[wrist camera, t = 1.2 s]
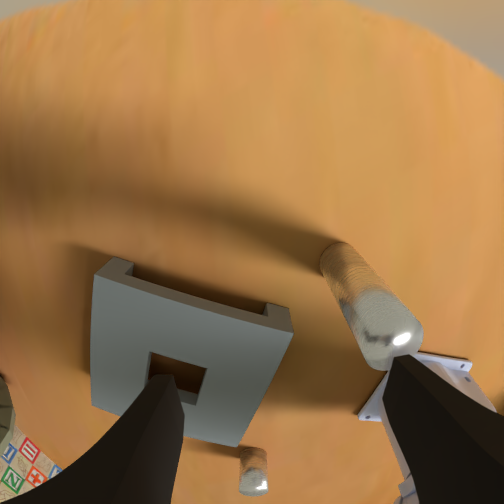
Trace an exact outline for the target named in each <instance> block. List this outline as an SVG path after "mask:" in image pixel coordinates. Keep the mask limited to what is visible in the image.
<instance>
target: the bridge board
mask: <svg viewBox="0 0 504 504" xmlns="http://www.w3.org/2000/svg"><path fill="white" fill-rule="evenodd" d="M133 267H134V263H132V262H129V261H126V260H123V259H120V258H117V257H113V258H112V259H110V260H109V261H108V262H107V263H106V264H105V265H104V266H103V267H102V268H101V269H99V270H98V271H97V272H96V273H95V274H94V282H93V295H92V311H91V337H90V376H91V401H92V406H95V407H97V408H100V409H102V410H105V411H108V412H110V413H113V414H116V415H118V416H122V415H123V413H124V412H125V411H126V410H127V409H128V408H129V406H130V405H131V404H132V403H133V401H134V400H135V399H136V398H137V396H138V395H139V394H140V393H141V391H142V390H143V389H144V387H145V386H146V385H147V384H148V382H149V381H150V380H148V373H149V367H150V361H151V355H152V352H153V353H156V354H160V355H163V356H166V357H169V358H173V359H176V360H179V361H183V362H186V363H190V364H193V365H197V366H200V367H204V368H206V371H205V374H204V377H203V380H202V383H201V386H200V390H199V393H198V394H195V393H191V392H188V391H184V390H181V389H177V391H178V394H179V397H180V401H181V404H182V408H183V411H184V414H185V420H184V433H183V436H186V437H190V438H194V439H199V440H203V441H207V442H212V443H217V444H221V445H226V446H232V447H237V446H238V444H239V442H240V441H241V439H242V437H243V435H244V433H245V431H246V430H247V428H248V426H249V424H250V422H251V420H252V418H253V416H254V414H255V412H256V411H257V409H258V407H259V405H260V403H261V401H262V399H263V397H264V395H265V393H266V391H267V389H268V387H269V385H270V383H271V381H272V379H273V377H274V375H275V373H276V371H277V369H278V366H279V364H280V362H281V360H282V358H283V356H284V354H285V352H286V350H287V348H288V345H289V343H290V341H291V339H292V337H293V335H294V332H293V327H292V322H291V318H290V313H289V308H285V307H281V306H278V305H274V304H270V303H267V304H266V306H265V309H264V312H263V314H262V315H260V314H256V313H252V312H248V311H245V310H241V309H237V308H234V307H230V306H227V305H223V304H220V303H216V302H213V301H209V300H206V299H202V298H199V297H196V296H192V295H189V294H186V293H182V292H179V291H176V290H173V289H169V288H166V287H163V286H160V285H157V284H153V283H150V282H147V281H144V280H141V279H138V278H135V277H132V273H133Z"/></svg>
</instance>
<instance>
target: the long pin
mask: <svg viewBox="0 0 504 504" xmlns="http://www.w3.org/2000/svg"><path fill="white" fill-rule="evenodd" d="M319 265H320V270H321V272H322V274H323V276H324V278H325V280H326V282H327V284H328V286H329V288H330V290H331V291H332V293H333V295H334V297H335V299H336V301H337V303H338V305H339V307H340V309H341V311H342V313H343V315H344V317H345V319H346V321H347V323H348V325H349V327H350V329H351V331H352V333H353V335H354V337H355V339H356V341H357V343H358V345H359V348H360V350H361V352H362V354H363V356H364V358H365V360H366V362H367V364H368V365H369V366H370V367H372V368H373V369H376V370H381V371H387V370H390V369H391V366H392V362H393V358H394V357H397V356H402V355H407V354H410V355H411V356H414V355H415V354H416V353H417V351H418V350H419V348H420V346H421V344H422V341H423V334H424V333H423V328H422V325H421V324H420V322H419V321H418V320H417V319H416V318H415V316H414V315H413V314H412V313H411V312H410V310H409V309H408V308H407V307H406V306H405V305H404V303H403V302H402V301H401V300H400V299H399V298H398V296H397V295H396V294H395V293H394V292H393V291H392V290H391V288H390V287H389V286H388V285H387V284H386V283H385V282H384V280H383V279H382V278H381V277H380V276H379V275H378V274H377V273H376V272H375V270H374V269H373V268H372V267H371V266H370V265H369V264H368V263H367V262H366V261H365V259H364V258H363V257H362V256H361V255H360V254H359V253H358V252H357V251H356V250H355V249H354V248H353V247H352V246H351V245H349V244H346V243H336V244H333V245H331V246H329V247H328V248H327V249H326V250H325V251H324V252H323V254H322V255H321V258H320V264H319Z"/></svg>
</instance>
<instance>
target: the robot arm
mask: <svg viewBox="0 0 504 504" xmlns="http://www.w3.org/2000/svg"><path fill="white" fill-rule="evenodd" d="M471 367H472V362H471V361H470V360H463V359H457V358H451V357H444V356H438V355H433V354H427V353H421V352H417V353H416V354H415V355H414V356H411V355H410V354H407V355H402V356H397V357H394V358H393V362H392V366H391V369H390V370H389V371H388V372H387V374H386V375H385V377H384V378H383V380H382V381H381V383H380V384H379V386H378V387H377V388H376V390H375V391H374V393H373V394H372V396H371V397H370V398H369V400H368V401H367V403H366V404H365V405H364V407H363V408H362V409H361V411H360V412H359V413H358V419H359V420H368V421H382V422H383V425H384V427H385V430H386V432H387V435H388V437H389V440H390V443H391V445H392V448H393V450H394V453H395V456H396V458H397V461H398V463H399V466H400V469H401V471H402V474H403V477H404V480H405V481H404V482H402V483H401V484H399V485H398V487H399V490H400V493H401V496H399V497H398V498H397V499H396V500H395V502H394V504H504V416H502V415H500V414H498V413H497V411H496V409H495V407H494V406H493V405H492V403H491V402H490V400H489V399H488V398H487V396H486V395H485V394H484V392H483V391H482V390H481V388H480V387H479V386H478V384H477V383H476V382H475V380H474V379H473V378H472V377H471V375H470V374H469V373H468V371H469V370H470V368H471ZM184 420H185V414H184V411H183V408H182V404H181V401H180V397H179V394H178V391H177V387H176V384H175V380H174V376H173V375H159V374H155V375H154V376H153V377H152V378H151V380H150V381H149V382H148V384H147V385H146V386H145V387H144V389H143V390H142V391H141V393H140V394H139V395H138V396H137V398H136V399H135V400H134V401H133V403H132V404H131V405H130V406H129V408H128V409H127V410H126V411H125V412H124V413H123V415H122V416H121V417H120V418H119V419H118V420H117V422H116V423H115V424H114V425H113V426H112V427H111V428H110V429H109V430H108V431H107V432H106V433H105V434H104V435H103V437H102V438H101V439H100V440H99V441H98V442H97V443H96V444H94V445H93V446H92V447H91V448H90V449H89V450H88V451H87V452H86V453H85V454H83V455H82V456H81V457H80V458H79V459H77V460H76V461H75V462H74V463H72V464H71V465H70V466H68V467H67V468H66V469H64V470H63V471H61V472H60V473H58V474H57V475H56V476H54V477H53V478H51V479H49V480H47V481H46V482H44V483H42V484H41V485H39V486H37V487H35V488H33V489H31V490H29V491H27V492H25V493H23V494H21V495H18V496H16V497H13V498H11V499H8V500H6V501H3V502H0V504H170V503H171V497H172V491H173V486H174V481H175V477H176V472H177V467H178V462H179V457H180V453H181V448H182V443H183V433H184Z"/></svg>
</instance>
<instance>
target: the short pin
mask: <svg viewBox="0 0 504 504" xmlns="http://www.w3.org/2000/svg"><path fill="white" fill-rule="evenodd" d="M239 492H240V493H241V494H243V495H246V496H261V495H264V494H266V493H267V492H268V473H267V453H266V451H265V450H263V449H260V448H247V449H244V450H243V451H241V453H240V477H239Z"/></svg>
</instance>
